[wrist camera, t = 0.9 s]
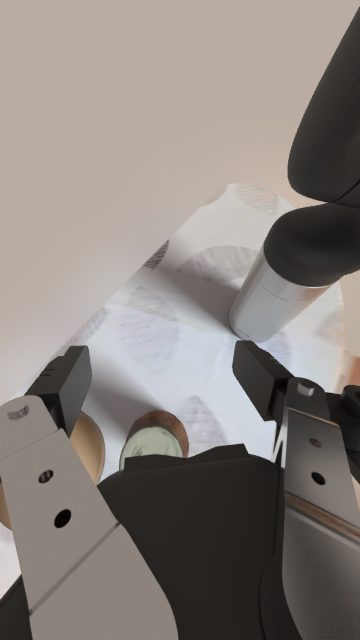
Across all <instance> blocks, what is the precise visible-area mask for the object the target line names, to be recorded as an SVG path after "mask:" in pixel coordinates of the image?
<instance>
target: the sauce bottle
mask: <svg viewBox="0 0 360 640" xmlns="http://www.w3.org/2000/svg"><path fill="white" fill-rule="evenodd" d="M188 452H189V442H188V437H187V434H186V431H185V428H184V426H183V424H182V423H181V421H180V420H179V419H177V417H176V416H174V415H173V414H171V413H169V412H166V411H152V412H149V413H147V414H145V415H143V416H142V417H141V418H139V419H137V420H136V421H135V422H134V424H133V426H132V428H131V430H130V432H129V434H128V437H127V439H126V443H125V445H124V447H123V449H122V452H121V456H120V462H119V471H120V470H122V469H124V460H125V457H133V456H142V455H150V454H161V455H169V456H176V457H183V458H188Z"/></svg>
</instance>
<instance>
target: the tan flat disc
mask: <svg viewBox="0 0 360 640" xmlns="http://www.w3.org/2000/svg"><path fill="white" fill-rule="evenodd" d="M69 440H70V442H71V443H72V445H73V447H74V449H75V450H76V452H77V454H78V455H79V457H80V459H81V461H82V462H83V464H84V466H85V468H86V469H87V471H88V473H89V474H90V476H91V478H92V480H93V481H94V483H95V485H96V486H97V484H98V482H99V480H100V477H101V474H102V471H103V467H104V462H105V443H104V438H103V435H102V433H101V431H100V429H99V427H98V425H97V424H96V423H95V422H94V421H93V420H92V419H91V418H90V417H89V416H87V415H85V414H83V413H81V412H80V413H79V415H78V418H77V421H76V423H75V426H74V429H73V431H72V434H71V436H70V439H69ZM0 522H1V523H2V524H3V525H4V526H5V527H7V528H8V529H10V530H12V527H11V522H10V518H9V513H8V508H7V504H6V499H5V495H4V490H3V485H2V483H0Z"/></svg>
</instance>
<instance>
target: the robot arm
mask: <svg viewBox="0 0 360 640" xmlns="http://www.w3.org/2000/svg"><path fill="white" fill-rule="evenodd" d="M288 180H289V183H290V185H291V187H292V188H293V189H294V190H295V191H296V192H297V193H299V194H301V195H303V196H306V197H309V198H312V199H315V200H318V201H323V202H329V203H325V204H322V205H317V206H310V207H305V208H299V209H295V210H292V211H290V212H288V213H286V214H284V215H282V216H281V217H280V218H279V219H278V220H277V221H276V222H275V223H274V224H273V226H272V228H271V229H270V231H269V233H268V235H267V237H266V239H265V241H264V243H263V245H262V247H261V249H260V251H259V253H258V255H257V257H256V259H255V261H254V263H253V265H252V267H251V269H250V271H249V273H248V275H247V277H246V279H245V281H244V283H243V285H242V287H241V289H240V291H239V293H238V295H237V297H236V299H235V301H234V303H233V305H232V307H231V309H230V311H229V316H228V318H229V324H230V326H231V328H232V330H233V331H234V332H235V333H236V335H238V336H239V337H240V338H242V339H244V340H239V341H237V342H236V345H235V351H234V357H233V364H232V369H233V373H234V375H235V377H236V379H237V380H238V382H239V383H240V385H241V386H242V388H243V389H244V391H245V392H246V394H247V396H248V397H249V399H250V400H251V402H252V403H253V405H254V406H255V408H256V409H257V411H258V413H259V414H260V416H261V417H262V419H263V420H264V421H273V420H275V422H276V426H275V430H274V438H273V446H272V453H271V461H269V460H267V459H265V458H262V457H260V456H256V455H252V454H248V452H247V450H246V447H245V445H244V443H243V444H234V445H226V446H218V447H214V448H212V449H209V450H207V451H205V452H202V453H200V454H197V455H195V456H193V457H190V458H183V457H176V456H169V455H161V454H150V455H142V456H133V457H125V460H124V469H122V470H120V471H117V472H116V473H114V474H112V475H110V476H109V477H107V478H106V479H104V480H103V481H101V482H100V483H99V484H98V485H97V486H96V485H95V483H94V481H93V480H92V478H91V476H90V474H89V473H88V471H87V469H86V468H85V466H84V464H83V462H82V461H81V459H80V457H79V455H78V454H77V452H76V450H75V449H74V447H73V445H72V443H71V442H70V440H69V439H70V436H71V434H72V431H73V429H74V426H75V423H76V421H77V418H78V415H79V413H80V410H81V408H82V405H83V402H84V400H85V397H86V394H87V392H88V389H89V387H90V384H91V379H92V371H91V363H90V356H89V349H88V346H70V347H69V349H68V350H67V352H66V353H65V355H64V356H58V357H57V358H55V359H54V360H52V361H51V362H49V364H48V365H47V366H46V368H45V369H44V371H42V373H41V374H40V376H39V377H38V378H37V379H36V380H35V382H34V383H33V384H32V386H31V387H30V388H29V389H28V391H27V392H26V393H25V395H24V396H21V397H18V398H15V399H12V400H10V401H8V402H6V403H5V404H3V405H2V406H0V483H2V485H3V490H4V495H5V499H6V504H7V508H8V513H9V518H10V522H11V527H12V531H13V536H14V541H15V545H16V550H17V554H18V559H19V564H20V568H21V573H22V574H21V575H20V576H19V578H18V579H17V580H16V581H15V582H14V584H13V585H12V586H11V587H10V588H9V590H8V591H7V592H6V593H5V595H4V596H3V597H2V598H1V599H0V640H360V512H359V508H358V504H357V499H356V495H355V490H354V486H353V482H352V477H351V474H352V476H354V478H355V479H356V480H357V482H358V483H359V484H360V386H356V385H347V386H345V387H344V389H343V392H342V394H334V393H328V392H325V391H324V389H323V388H322V387H321V386H319V385H318V384H317V383H315V382H313V381H311V380H308V379H305V378H300V377H294V376H293V375H292V374H291V373H290V372H289V371H288V370H287V369H286V368H285V367H284V366H283V365H282V364H280V363H279V362H278V361H277V360H276V359H275V358H274V357H273V356H272V355H271V354H270V353H268V352H267V351H265V350H263V349H261V348H259V347H258V346H257V345H256V344H255V343H259V342H264V341H267V340H268V339H270V338H271V337H272V336H274V335H275V334H276V333H277V332H278V331H280V330H281V329H282V328H283V327H284V326H285V325H287V324H288V323H289V322H290V321H291V320H292V319H294V318H295V317H296V316H297V315H298V314H299V313H301V312H302V311H303V310H304V309H305V308H306V307H308V306H309V305H310V304H311V303H312V302H313V301H315V300H316V299H317V298H318V297H319V296H320V295H321V294H323V293H324V292H325V291H326V290H327V289H328V288H330V287H331V286H332V285H333V284H334V283H335V282H337V281H338V280H339V279H340V278H341V277H343V276H344V275H347V274H350V273H353V272H355V271H358V270H360V7H359V9H358V11H357V12H356V14H355V16H354V18H353V20H352V21H351V23H350V25H349V27H348V29H347V31H346V33H345V34H344V36H343V38H342V40H341V42H340V44H339V46H338V48H337V49H336V51H335V53H334V55H333V57H332V59H331V61H330V63H329V65H328V67H327V69H326V70H325V72H324V75H323V76H322V78H321V80H320V82H319V84H318V86H317V88H316V90H315V92H314V94H313V96H312V98H311V101H310V103H309V105H308V107H307V109H306V111H305V114H304V116H303V118H302V121H301V123H300V125H299V128H298V130H297V133H296V136H295V138H294V141H293V145H292V147H291V151H290V155H289V160H288Z"/></svg>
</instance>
